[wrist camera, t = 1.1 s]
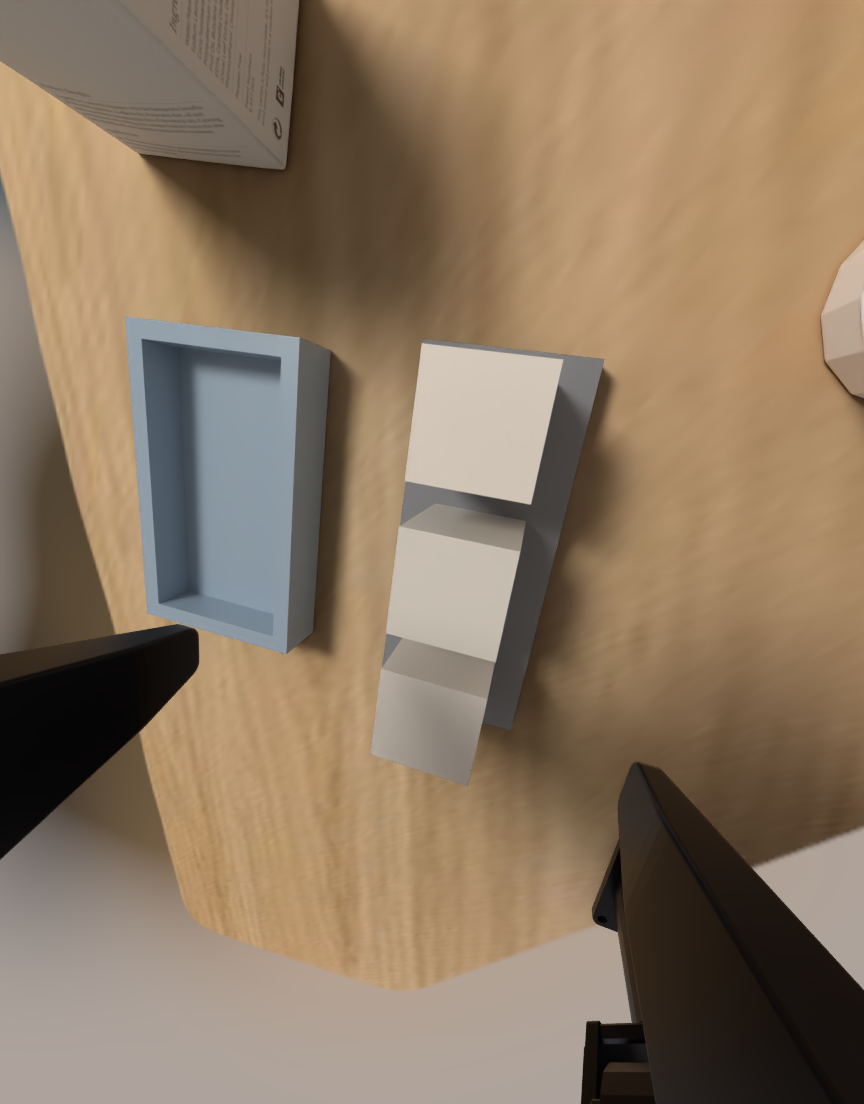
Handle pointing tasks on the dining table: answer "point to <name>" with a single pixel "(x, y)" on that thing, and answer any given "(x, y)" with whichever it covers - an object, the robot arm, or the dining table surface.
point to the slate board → (539, 528)
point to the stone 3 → (431, 709)
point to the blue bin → (229, 476)
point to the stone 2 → (454, 579)
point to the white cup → (846, 323)
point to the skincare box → (165, 71)
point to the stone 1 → (481, 421)
